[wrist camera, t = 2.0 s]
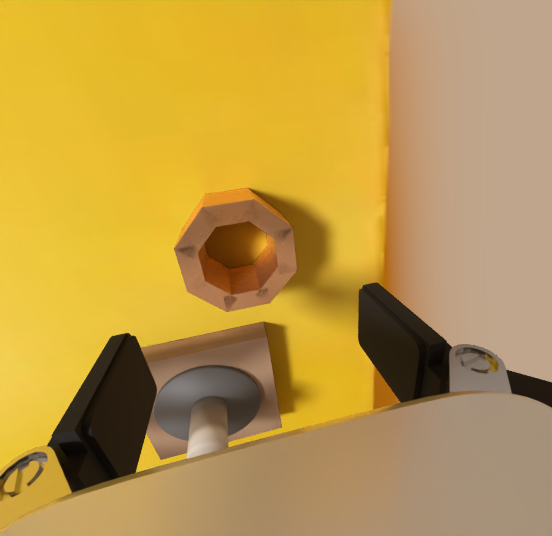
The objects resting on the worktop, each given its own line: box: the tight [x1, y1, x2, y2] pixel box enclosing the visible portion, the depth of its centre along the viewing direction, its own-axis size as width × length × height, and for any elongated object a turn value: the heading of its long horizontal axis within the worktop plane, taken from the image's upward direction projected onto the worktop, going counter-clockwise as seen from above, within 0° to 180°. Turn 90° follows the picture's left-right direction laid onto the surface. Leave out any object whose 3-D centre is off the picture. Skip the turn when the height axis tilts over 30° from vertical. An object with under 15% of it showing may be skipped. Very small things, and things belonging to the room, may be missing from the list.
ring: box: [174, 188, 297, 312], centre depth 18 cm, size 7×7×4 cm
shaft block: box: [141, 322, 282, 460], centre depth 21 cm, size 12×12×10 cm
